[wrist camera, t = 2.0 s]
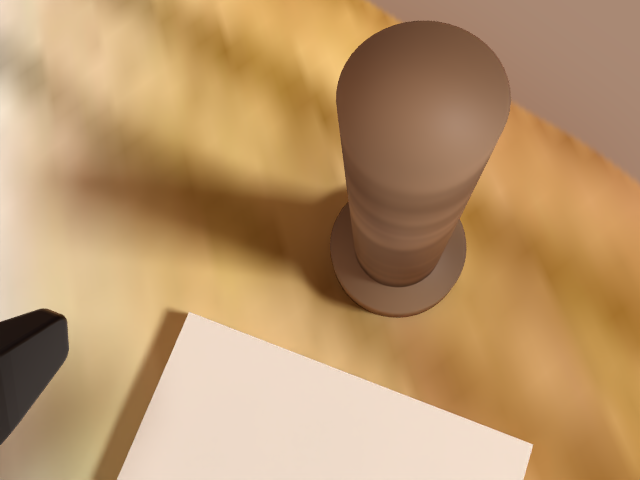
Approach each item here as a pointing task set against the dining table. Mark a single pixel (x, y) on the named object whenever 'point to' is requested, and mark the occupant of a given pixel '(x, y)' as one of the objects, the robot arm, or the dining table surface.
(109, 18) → the dining table surface
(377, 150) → the tamper
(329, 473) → the tile
